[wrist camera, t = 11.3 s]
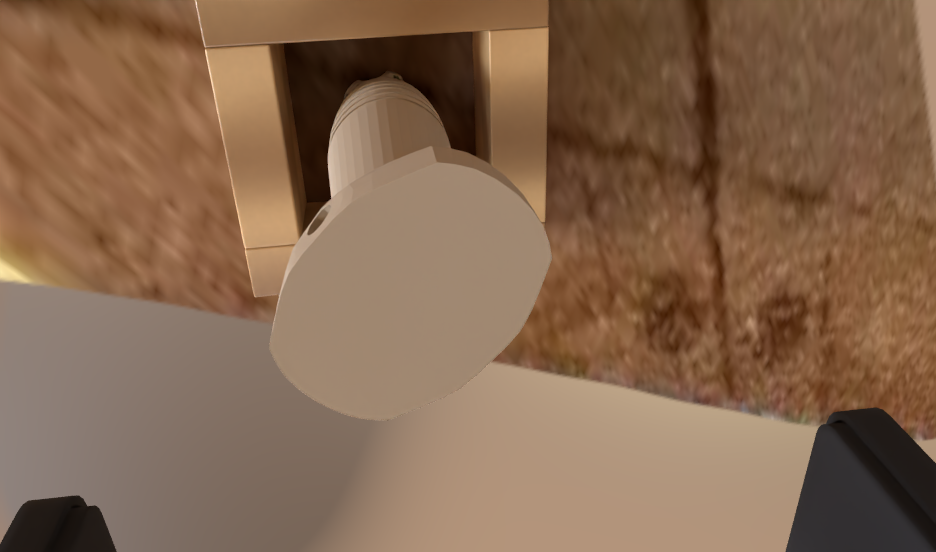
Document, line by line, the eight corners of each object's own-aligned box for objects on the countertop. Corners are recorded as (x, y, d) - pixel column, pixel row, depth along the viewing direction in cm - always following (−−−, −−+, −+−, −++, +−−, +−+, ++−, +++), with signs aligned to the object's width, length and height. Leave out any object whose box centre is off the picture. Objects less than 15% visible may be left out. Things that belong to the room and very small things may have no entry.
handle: (483, 88, 29) (595, 260, 16) (378, 206, 30) (398, 450, 17) (388, 1, 27) (424, 114, 14) (281, 132, 28) (221, 346, 15)
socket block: (212, -34, 25) (189, -21, 22) (524, -50, 27) (550, -39, 23) (265, 250, 31) (254, 298, 27) (523, 227, 32) (544, 269, 28)
